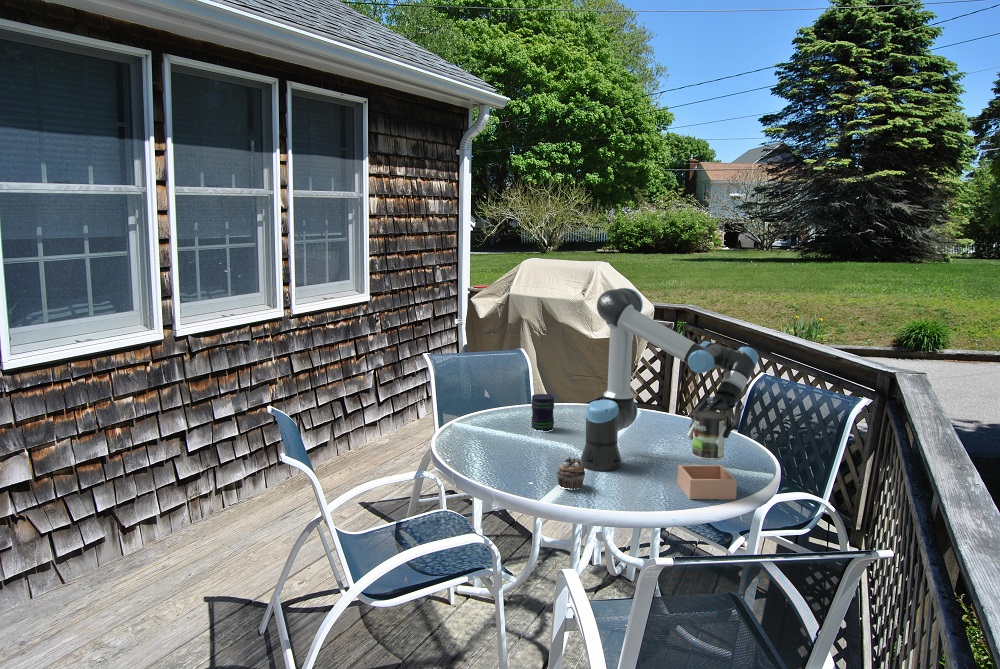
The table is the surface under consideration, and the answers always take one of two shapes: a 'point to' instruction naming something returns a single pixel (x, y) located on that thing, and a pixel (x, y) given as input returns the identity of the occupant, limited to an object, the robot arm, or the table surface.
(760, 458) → the table surface
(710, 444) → the coffee can
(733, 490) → the planter box
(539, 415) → the storage jar
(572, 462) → the cupcake
